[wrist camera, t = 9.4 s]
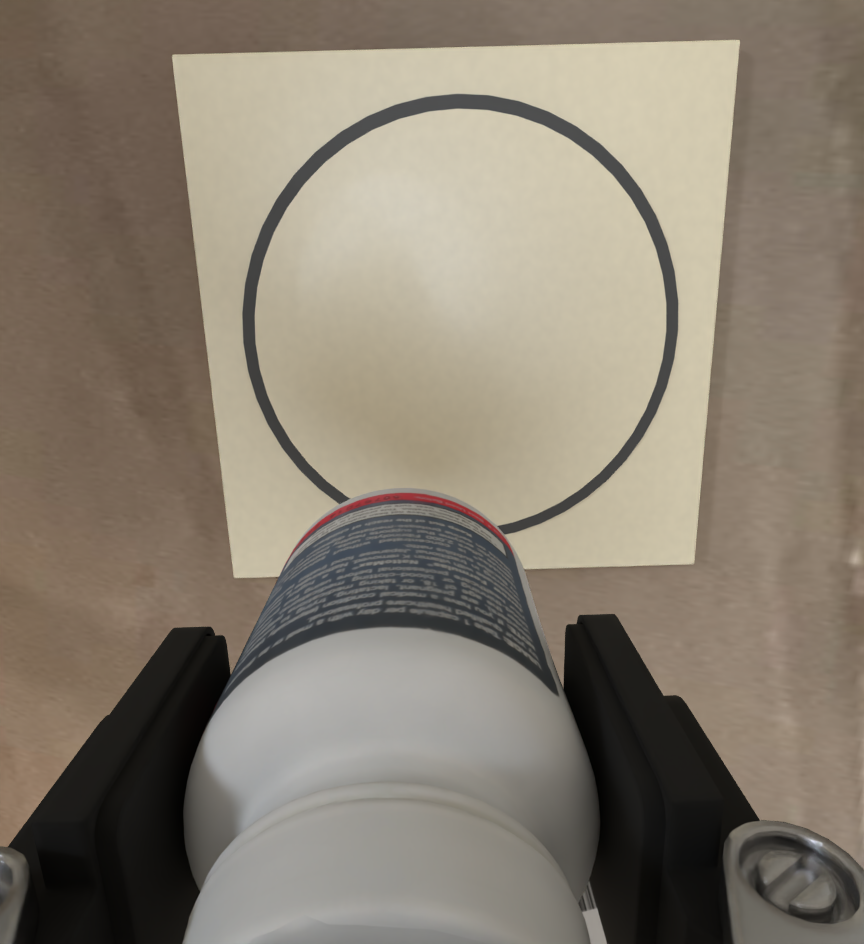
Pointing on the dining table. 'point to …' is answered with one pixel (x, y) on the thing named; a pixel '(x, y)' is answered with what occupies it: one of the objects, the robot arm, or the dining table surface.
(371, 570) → the pill bottle
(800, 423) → the dining table surface
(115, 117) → the dining table surface
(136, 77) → the dining table surface
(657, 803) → the robot arm
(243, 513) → the beige flat square board
